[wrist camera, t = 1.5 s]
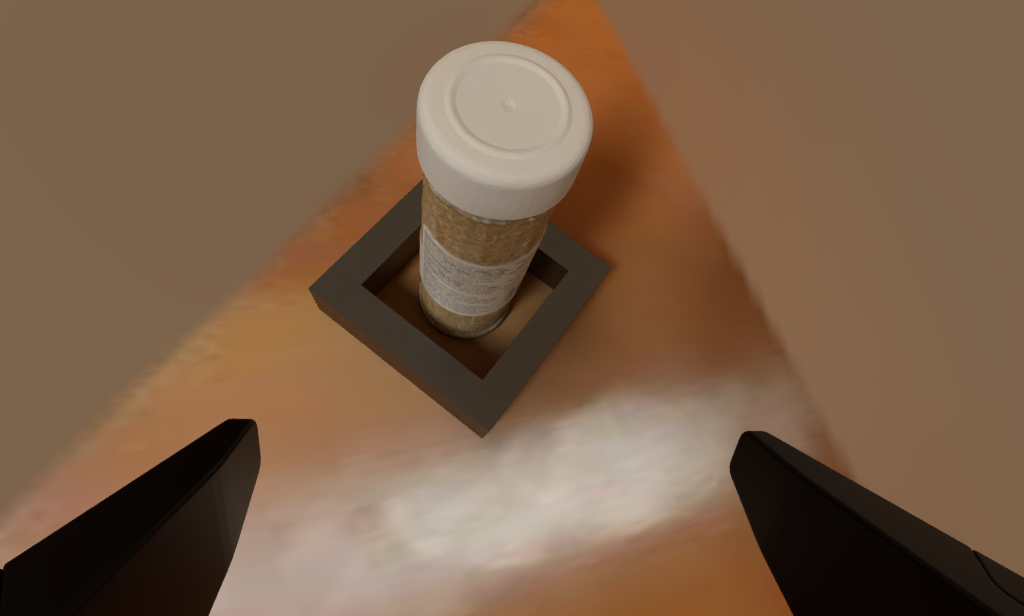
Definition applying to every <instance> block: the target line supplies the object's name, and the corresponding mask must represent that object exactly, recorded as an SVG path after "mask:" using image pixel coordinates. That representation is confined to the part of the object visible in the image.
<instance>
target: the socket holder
mask: <svg viewBox="0 0 1024 616" xmlns="http://www.w3.org/2000/svg"><path fill="white" fill-rule="evenodd" d="M422 194H423V179H422V180H421V181H420V182H419V183H418V184H417V185H416V186H415V187H414V188H413V189H412V190H411V191H410V192H409V193H408V194H407V195H406V196H405V197H404V198H403V199H401V200H400V201H399V202H398V203H397V204H396V205H395V206H394V207H393V208H392V209H391V210H390V211H389V212H388V213H387V214H386V215H385V216H384V217H383V218H382V219H381V220H380V221H378V222H377V223H376V224H375V225H374V226H373V227H372V228H371V229H370V230H369V231H368V232H367V233H366V234H365V235H364V236H363V237H362V238H361V239H360V240H359V241H358V242H356V243H355V244H354V245H353V246H352V247H351V248H350V249H349V250H348V251H347V252H346V253H345V254H344V255H343V256H342V257H341V258H340V259H339V260H338V261H337V262H336V263H334V264H333V265H332V266H331V267H330V268H329V269H328V270H327V271H326V272H325V273H324V274H323V275H322V276H321V277H320V278H319V279H318V280H317V281H316V282H315V283H314V284H312V285H311V286H310V287H309V288H308V289H309V290H310V292H311V294H312V296H313V298H314V300H315V302H316V304H317V305H318V307H319V309H320V310H322V311H323V312H324V313H325V314H327V315H328V316H329V317H330V318H332V319H333V320H334V321H335V322H337V323H338V324H339V325H340V326H342V327H343V328H344V329H345V330H347V331H348V332H349V333H350V334H352V335H353V336H354V337H355V338H357V339H358V340H359V341H360V342H362V343H363V344H364V345H366V346H367V347H368V348H369V349H371V350H372V351H373V352H374V353H376V354H377V355H378V356H379V357H381V358H382V359H383V360H384V361H386V362H387V363H388V364H389V365H391V366H392V367H393V368H394V369H396V370H397V371H398V372H399V373H401V374H402V375H403V376H404V377H406V378H407V379H408V380H409V381H411V382H412V383H413V384H414V385H416V386H417V387H418V388H419V389H421V390H422V391H423V392H425V393H426V394H427V395H428V396H430V397H431V398H432V399H433V400H435V401H436V402H437V403H438V404H440V405H441V406H442V407H443V408H445V409H446V410H447V411H448V412H450V413H451V414H452V415H453V416H455V417H456V418H457V419H458V420H460V421H461V422H462V423H463V424H465V425H466V426H467V427H468V428H470V429H471V430H472V431H473V432H475V433H476V434H477V435H479V436H480V437H481V438H483V437H484V436H485V435H486V434H487V433H488V432H489V431H490V430H491V429H492V427H493V426H494V425H495V423H496V422H497V421H498V419H499V418H500V417H501V415H502V414H503V413H504V411H505V410H506V408H507V407H508V406H509V404H510V403H511V402H512V400H513V399H514V398H515V396H516V395H517V394H518V392H519V391H520V390H521V388H522V387H523V386H524V384H525V383H526V382H527V380H528V379H529V378H530V376H531V375H532V374H533V372H534V371H535V370H536V368H537V367H538V366H539V364H540V363H541V362H542V360H543V359H544V358H545V356H546V355H547V354H548V352H549V351H550V350H551V348H552V347H553V346H554V344H555V343H556V341H557V340H558V339H559V337H560V336H561V335H562V333H563V332H564V331H565V329H566V328H567V327H568V325H569V324H570V323H571V321H572V320H573V319H574V317H575V316H576V315H577V313H578V312H579V311H580V309H581V308H582V307H583V305H584V304H585V303H586V301H587V300H588V299H589V297H590V296H591V295H592V293H593V292H594V291H595V289H596V288H597V287H598V285H599V284H600V283H601V281H602V280H603V279H604V277H605V276H606V274H607V273H608V272H609V270H610V269H611V268H610V267H609V266H608V265H606V264H605V263H604V262H602V261H601V260H600V259H598V258H597V257H596V256H594V255H593V254H592V253H590V252H589V251H588V250H586V249H585V248H584V247H582V246H581V245H580V244H578V243H577V242H576V241H574V240H573V239H572V238H570V237H569V236H568V235H566V234H565V233H563V232H562V231H561V230H559V229H558V228H557V227H555V226H554V225H553V224H551V223H550V222H549V221H548V223H547V227H546V230H545V233H544V235H543V238H542V240H541V242H540V244H539V246H538V248H537V250H536V252H535V254H534V256H533V258H532V260H531V263H530V265H529V267H528V269H527V270H528V271H530V272H531V273H532V274H534V275H535V276H536V277H538V278H539V279H540V280H542V281H543V282H544V283H546V284H547V285H548V286H550V287H551V288H552V289H554V290H553V292H552V293H551V294H550V295H549V297H548V298H547V299H546V300H545V302H544V303H543V304H542V305H541V307H540V308H539V309H538V311H537V312H536V313H535V314H534V316H533V317H532V318H531V319H530V321H529V322H528V323H527V324H526V326H525V327H524V328H523V330H522V331H521V332H520V333H519V335H518V336H517V337H516V338H515V340H514V341H513V342H512V343H511V345H510V346H509V347H508V349H507V350H506V351H505V352H504V354H503V355H502V356H501V357H500V359H499V360H498V361H497V362H496V364H495V365H494V366H493V368H492V369H491V370H490V371H489V373H488V374H487V375H486V376H485V378H484V379H483V380H482V379H480V378H479V377H478V376H476V375H475V374H474V373H473V372H471V371H470V370H469V369H468V368H466V367H465V366H464V365H462V364H461V363H460V362H459V361H457V360H456V359H455V358H453V357H452V356H451V355H450V354H448V353H447V352H446V351H445V350H443V349H442V348H441V347H439V346H438V345H437V344H436V343H434V342H433V341H432V340H431V339H429V338H428V337H427V336H425V335H424V334H423V333H422V332H420V331H419V330H418V329H417V328H415V327H414V326H413V325H411V324H410V323H409V322H408V321H406V320H405V319H404V318H403V317H401V316H400V315H399V314H397V313H396V312H395V311H394V310H392V309H391V308H390V307H389V306H387V305H386V304H385V303H383V302H382V301H381V300H380V299H378V298H377V297H376V295H377V294H378V293H379V292H380V291H381V290H382V289H383V288H384V287H385V286H386V284H387V283H388V282H389V281H390V280H391V279H392V278H393V277H394V276H395V275H396V274H397V273H398V272H399V271H400V270H401V269H402V268H403V267H404V266H405V265H406V264H407V263H408V262H409V261H410V260H411V259H412V258H413V257H414V256H415V255H416V254H417V253H418V251H419V250H420V230H421V223H422Z"/></svg>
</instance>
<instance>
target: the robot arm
mask: <svg viewBox="0 0 1024 616" xmlns="http://www.w3.org/2000/svg"><path fill="white" fill-rule="evenodd" d="M260 463H261V455H260V446H259V437H258V428H257V424H256V422H255V421H254V420H253V419H228V420H226V421H224V422H223V423H221V424H220V425H218V426H216V427H215V428H213V429H212V430H210V431H209V432H207V433H206V434H204V435H203V436H201V437H200V438H198V439H196V440H195V441H193V442H192V443H190V444H189V445H187V446H186V447H184V448H183V449H181V450H180V451H178V452H176V453H175V454H173V455H172V456H170V457H169V458H167V459H166V460H164V461H163V462H161V463H160V464H158V465H157V466H155V467H153V468H152V469H150V470H149V471H147V472H146V473H144V474H143V475H141V476H140V477H138V478H137V479H135V480H133V481H132V482H130V483H129V484H127V485H126V486H124V487H123V488H121V489H120V490H118V491H117V492H115V493H114V494H112V495H110V496H109V497H107V498H106V499H104V500H103V501H101V502H100V503H98V504H97V505H95V506H94V507H92V508H90V509H89V510H87V511H86V512H84V513H83V514H81V515H80V516H78V517H77V518H75V519H74V520H72V521H70V522H69V523H67V524H66V525H64V526H63V527H61V528H60V529H58V530H57V531H55V532H54V533H52V534H51V535H49V536H47V537H46V538H44V539H43V540H41V541H40V542H38V543H37V544H35V545H34V546H32V547H31V548H29V549H27V550H26V551H24V552H23V553H21V554H20V555H18V556H17V557H15V558H14V559H12V560H11V561H9V562H7V563H6V564H5V565H4V567H3V570H2V569H0V616H208V615H209V613H210V611H211V608H212V606H213V604H214V601H215V599H216V597H217V594H218V592H219V590H220V587H221V585H222V583H223V580H224V578H225V576H226V573H227V571H228V568H229V566H230V563H231V561H232V558H233V556H234V553H235V549H236V546H237V543H238V540H239V537H240V533H241V530H242V527H243V523H244V520H245V517H246V513H247V510H248V507H249V503H250V500H251V497H252V493H253V490H254V487H255V483H256V480H257V477H258V473H259V469H260ZM730 474H731V478H732V480H733V483H734V485H735V488H736V490H737V493H738V495H739V498H740V500H741V503H742V505H743V508H744V511H745V513H746V516H747V518H748V521H749V523H750V526H751V528H752V531H753V533H754V536H755V538H756V541H757V543H758V545H759V548H760V550H761V552H762V554H763V556H764V558H765V560H766V562H767V564H768V566H769V568H770V570H771V572H772V574H773V576H774V578H775V580H776V582H777V584H778V586H779V588H780V590H781V592H782V594H783V596H784V598H785V600H786V602H787V604H788V606H789V608H790V610H791V612H792V614H793V616H1024V577H1022V576H1020V575H1018V574H1017V573H1015V572H1013V571H1011V570H1009V569H1008V568H1006V567H1004V566H1002V565H1000V564H998V563H997V562H995V561H993V560H992V559H990V558H988V557H986V556H984V555H983V554H981V553H979V552H977V551H975V550H973V551H972V550H971V548H970V547H968V546H967V545H965V544H963V543H961V542H960V541H958V540H956V539H954V538H953V537H951V536H949V535H947V534H946V533H944V532H942V531H940V530H938V529H937V528H935V527H933V526H931V525H930V524H928V523H926V522H924V521H923V520H921V519H919V518H917V517H916V516H914V515H912V514H910V513H908V512H907V511H905V510H903V509H901V508H900V507H898V506H896V505H894V504H893V503H891V502H889V501H887V500H885V499H884V498H882V497H880V496H879V495H877V494H875V493H873V492H871V491H870V490H868V489H866V488H864V487H863V486H861V485H859V484H857V483H856V482H854V481H852V480H850V479H849V478H847V477H845V476H843V475H841V474H840V473H838V472H836V471H834V470H833V469H831V468H829V467H827V466H826V465H824V464H822V463H820V462H819V461H817V460H815V459H813V458H812V457H810V456H808V455H806V454H804V453H803V452H801V451H799V450H797V449H796V448H794V447H792V446H790V445H789V444H787V443H785V442H783V441H782V440H780V439H778V438H776V437H774V436H773V435H771V434H769V433H767V432H764V431H746V432H744V433H743V434H742V435H741V436H740V439H739V441H738V444H737V446H736V449H735V451H734V454H733V457H732V459H731V462H730Z"/></svg>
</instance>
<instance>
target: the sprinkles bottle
mask: <svg viewBox="0 0 1024 616" xmlns="http://www.w3.org/2000/svg"><path fill="white" fill-rule="evenodd" d="M416 126H417V133H416V143H417V154H418V159H419V162H420V165H421V168H422V170H423V174H422V176H423V194H422V223H421V230H420V275H421V282H420V285H419V300H420V304H421V308H422V310H423V312H424V314H425V316H426V317H427V319H428V321H429V322H430V324H432V325H433V326H435V327H436V328H437V329H438V330H440V331H441V332H443V333H445V334H447V335H449V336H452V337H457V338H461V339H465V338H475V337H479V336H483V335H485V334H487V333H489V332H491V331H492V330H494V329H495V328H496V327H497V326H498V325H499V324H500V323H501V322H502V321H503V319H504V317H505V316H506V314H507V313H508V310H509V307H510V301H511V299H512V298H513V296H514V295H515V293H516V291H517V290H518V288H519V286H520V284H521V281H522V279H523V277H524V275H525V273H526V271H527V269H528V267H529V265H530V263H531V260H532V258H533V256H534V254H535V252H536V250H537V248H538V246H539V244H540V242H541V240H542V238H543V235H544V233H545V230H546V227H547V223H548V221H549V219H550V216H551V214H552V212H553V210H554V208H555V205H556V204H557V203H559V202H560V201H561V200H562V199H563V198H564V197H565V195H566V194H567V193H568V191H569V190H570V188H571V187H572V185H573V183H574V181H575V179H576V177H577V175H578V173H579V170H580V168H581V166H582V164H583V162H584V159H585V157H586V155H587V152H588V150H589V147H590V144H591V140H592V135H593V115H592V111H591V106H590V103H589V101H588V98H587V96H586V94H585V92H584V90H583V88H582V87H581V85H580V84H579V82H578V81H577V80H576V78H575V77H574V76H573V75H572V74H571V73H570V72H569V71H568V70H567V69H566V68H565V67H564V66H563V65H561V64H560V63H559V62H558V61H556V60H555V59H553V58H551V57H550V56H548V55H547V54H545V53H542V52H540V51H538V50H536V49H534V48H531V47H528V46H525V45H521V44H517V43H512V42H504V41H486V42H478V43H473V44H469V45H466V46H463V47H460V48H457V49H455V50H453V51H451V52H450V53H448V54H447V55H445V56H444V57H443V58H441V59H440V60H439V61H438V62H437V63H436V64H435V65H434V66H433V67H432V68H431V69H430V71H429V72H428V74H427V75H426V77H425V79H424V80H423V83H422V85H421V88H420V91H419V95H418V101H417V122H416Z"/></svg>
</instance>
